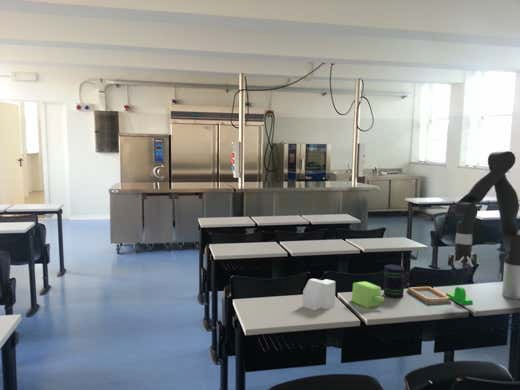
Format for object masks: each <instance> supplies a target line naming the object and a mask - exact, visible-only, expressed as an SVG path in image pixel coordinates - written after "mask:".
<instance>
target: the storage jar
mask: <svg viewBox="0 0 520 390" xmlns="http://www.w3.org/2000/svg"><path fill="white" fill-rule="evenodd" d="M383 272H384V274H383V277H384V283H383V296H384V295H385V296H384V297H387V298H389V299H402V298H403V297H404V293H405V291H404V288H405V286H404V279H405V267H404V266H402V265H400V264H386V265H384V271H383Z"/></svg>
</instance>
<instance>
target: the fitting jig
mask: <svg viewBox="0 0 520 390" xmlns="http://www.w3.org/2000/svg"><path fill="white" fill-rule="evenodd" d="M406 292H407V293H408V294H411V295H412V296H413V297H415V298H416V299H419V300H421V302H423V303H425V304H426V305H428V306H434V305H436V306H437V305H449V304H451V305H452V301H451V299H450V297H448V296H446V294H444V293H443V292H440V291H438V290H436V289H435V288H433V287H431V286H429V285H428V286H416V287H413V286H412V287H408V288H407V290H406Z"/></svg>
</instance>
